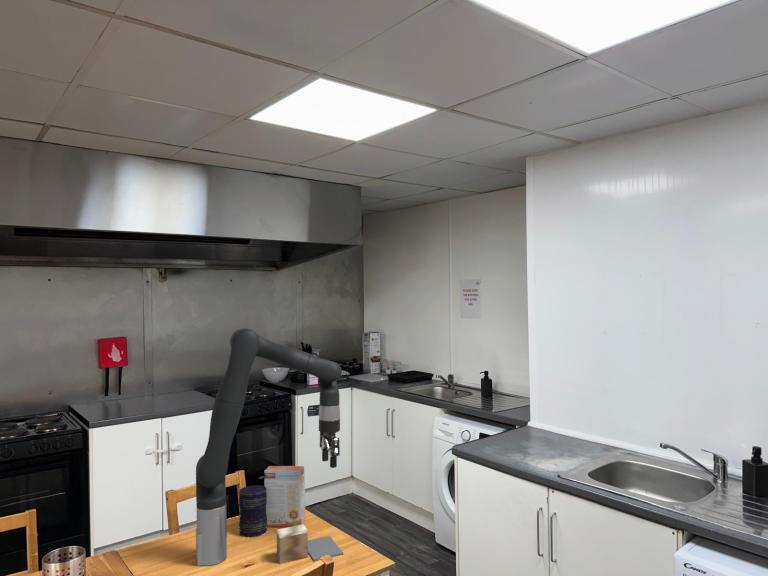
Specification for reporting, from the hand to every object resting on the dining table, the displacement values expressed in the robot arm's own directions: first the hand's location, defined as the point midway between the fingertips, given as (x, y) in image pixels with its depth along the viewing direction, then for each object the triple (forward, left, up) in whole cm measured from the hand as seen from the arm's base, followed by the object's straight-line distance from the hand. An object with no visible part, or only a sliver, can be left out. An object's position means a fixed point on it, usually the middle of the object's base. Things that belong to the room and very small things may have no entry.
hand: (329, 464), depth 183 cm
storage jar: (-23, +17, -26) cm, 39 cm away
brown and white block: (-16, -9, -25) cm, 31 cm away
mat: (-5, -7, -25) cm, 27 cm away
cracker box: (-11, +18, -26) cm, 33 cm away
